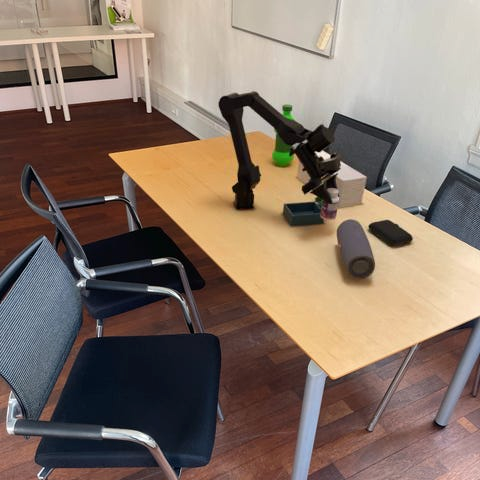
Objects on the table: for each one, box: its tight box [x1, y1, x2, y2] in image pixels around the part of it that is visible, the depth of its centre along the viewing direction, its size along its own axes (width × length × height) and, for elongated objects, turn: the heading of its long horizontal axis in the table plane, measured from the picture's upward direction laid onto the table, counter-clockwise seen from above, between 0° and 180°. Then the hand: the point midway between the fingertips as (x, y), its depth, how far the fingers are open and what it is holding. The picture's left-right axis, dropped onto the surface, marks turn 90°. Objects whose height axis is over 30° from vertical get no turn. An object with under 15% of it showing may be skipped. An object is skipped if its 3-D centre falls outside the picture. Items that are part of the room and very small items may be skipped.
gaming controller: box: [314, 196, 323, 208], centre depth 179 cm, size 9×4×6 cm
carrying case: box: [367, 219, 414, 247], centre depth 161 cm, size 11×3×15 cm
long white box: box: [296, 150, 368, 209], centre depth 188 cm, size 32×11×11 cm, turn 25°
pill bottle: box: [320, 188, 339, 221], centre depth 157 cm, size 5×5×10 cm
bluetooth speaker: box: [336, 218, 376, 280], centre depth 144 cm, size 23×9×10 cm, turn 178°
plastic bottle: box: [271, 103, 297, 167], centre depth 205 cm, size 10×10×25 cm
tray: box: [282, 200, 325, 227], centre depth 169 cm, size 12×10×4 cm
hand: (334, 200), depth 156 cm, fingers closed on pill bottle, 5 cm apart
